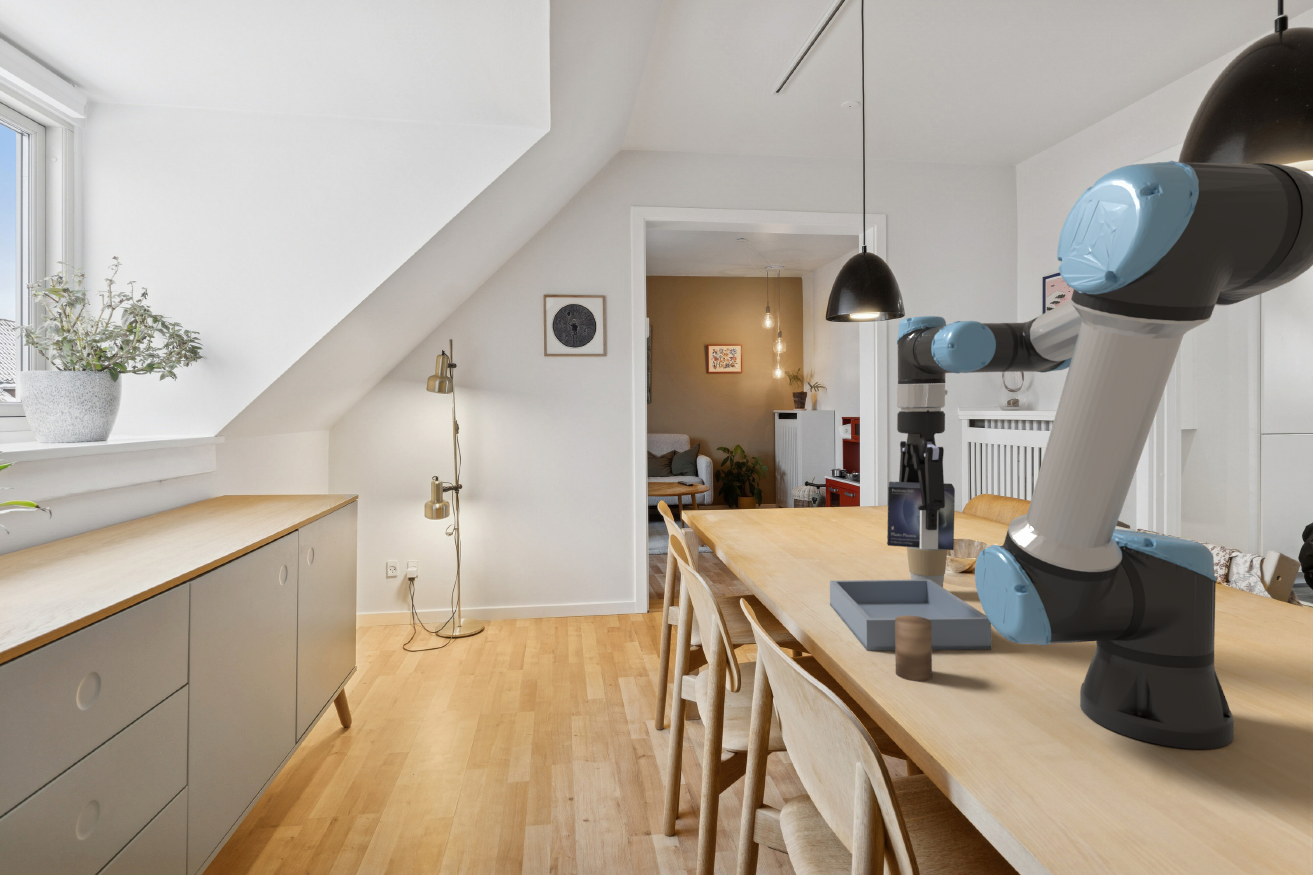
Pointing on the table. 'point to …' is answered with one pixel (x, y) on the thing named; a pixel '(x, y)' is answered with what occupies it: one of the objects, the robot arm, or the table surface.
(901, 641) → the walnut cylinder
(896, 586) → the tray
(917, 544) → the small box
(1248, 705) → the table surface
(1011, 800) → the table surface
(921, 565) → the coffee cup
